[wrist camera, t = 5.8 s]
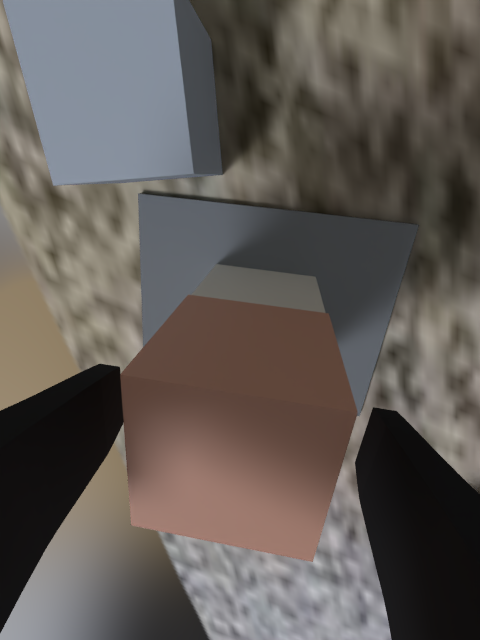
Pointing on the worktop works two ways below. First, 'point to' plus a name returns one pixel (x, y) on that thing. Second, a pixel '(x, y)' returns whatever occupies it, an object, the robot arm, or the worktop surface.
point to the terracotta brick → (237, 425)
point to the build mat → (278, 264)
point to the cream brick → (262, 288)
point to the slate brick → (119, 88)
